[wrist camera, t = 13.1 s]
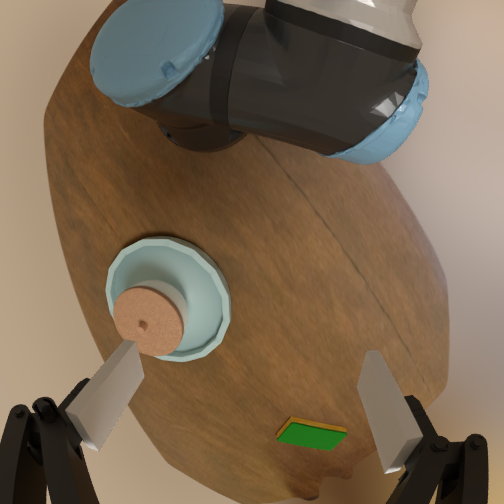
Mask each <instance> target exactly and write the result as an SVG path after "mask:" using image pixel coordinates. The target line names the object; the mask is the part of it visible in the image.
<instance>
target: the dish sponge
mask: <svg viewBox="0 0 504 504" xmlns="http://www.w3.org/2000/svg"><path fill="white" fill-rule="evenodd" d="M346 435H347V431H346V428H345V427H340V426H334V425H329V424H324V423H319V422H314V421H310V420H305V419H301V418H297V417H290V418H289V420H288V421H287V422H286V423H285V425H284V426H283V427H282V428H281V429H280V430H279V432H278V433H277V441H280V442H284V443H289V444H294V445H299V446H304V447H310V448H316V449H323V450H332V449H333V448H334V447H335V446H336V445H337V444H338V443H339V442H340V441H341V440H342V439H343V438H344V437H345V436H346Z"/></svg>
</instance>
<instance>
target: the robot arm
mask: <svg viewBox="0 0 504 504" xmlns="http://www.w3.org/2000/svg"><path fill="white" fill-rule="evenodd" d="M416 3H417V0H266V4H265V8H260V7H252V6H244V5H235V4H225V3H223V1H222V0H128V1H127V2H126V3H124V4H123V5H121V6H120V7H119V8H118V9H117V10H116V11H115V12H114V13H113V14H112V15H111V16H110V17H109V18H108V20H107V21H106V22H105V24H104V25H103V27H102V28H101V30H100V31H99V33H98V35H97V37H96V39H95V42H94V45H93V48H92V51H91V56H90V72H91V74H92V78H93V81H94V84H95V85H96V87H97V88H98V89H99V90H100V91H101V92H102V93H103V94H105V95H106V96H108V97H109V98H111V99H112V101H114V102H115V103H116V104H118V105H121V106H123V107H129V108H131V109H134V110H136V111H138V112H140V113H142V114H144V115H146V116H148V117H150V118H153V119H155V120H157V123H158V125H159V127H160V129H161V131H162V132H163V133H164V135H165V136H166V137H167V138H168V139H169V140H170V141H172V142H173V143H175V144H176V145H178V146H180V147H182V148H185V149H188V150H191V151H195V152H215V151H220V150H223V149H226V148H228V147H230V146H232V145H234V144H236V143H237V142H239V141H240V140H241V139H243V138H244V137H245V136H246V135H247V134H248V133H251V134H255V135H259V136H263V137H267V138H271V139H275V140H278V141H282V142H285V143H289V144H292V145H296V146H299V147H303V148H306V149H309V150H312V151H315V152H317V153H318V154H320V155H321V156H324V157H330V158H339V159H342V160H345V161H349V162H352V163H355V164H361V165H368V164H374V163H377V162H379V161H381V160H384V159H385V158H387V157H388V156H390V155H391V154H392V153H393V152H395V151H396V150H397V149H398V148H399V147H400V146H401V145H402V144H403V143H404V141H405V140H406V139H407V138H408V136H409V135H410V133H411V132H412V131H413V129H414V127H415V126H416V124H417V122H418V120H419V118H420V116H421V114H422V111H423V107H422V106H421V103H422V102H423V101H424V100H425V99H426V98H427V95H428V87H429V81H428V74H427V71H426V69H425V67H424V66H423V65H422V63H421V62H420V60H419V59H418V58H417V55H418V54H419V51H420V50H421V47H422V42H421V39H420V37H419V35H418V33H417V30H416V28H415V26H414V24H413V21H412V16H411V15H412V13H413V10H414V8H415V5H416ZM144 377H145V376H144V373H143V369H142V365H141V361H140V357H139V353H138V348H137V344H136V341H132V340H126V339H125V340H124V341H123V342H122V343H121V345H120V346H119V347H118V348H117V349H116V350H115V351H114V353H113V354H112V355H111V356H110V357H109V358H108V359H107V361H106V362H105V363H104V364H103V365H102V366H101V368H100V369H99V370H98V371H97V372H96V374H95V375H94V376H93V377H92V378H91V379H89V378H85V379H84V380H82V381H80V382H79V383H78V384H77V385H76V386H75V388H74V389H73V390H72V391H71V392H70V394H69V395H68V396H67V397H66V398H65V399H64V401H63V402H62V403H61V404H60V405H59V406H58V408H57V406H56V404H55V402H54V401H53V400H52V399H51V398H49V397H42V398H38V399H37V400H36V401H35V402H34V403H33V406H32V408H33V410H34V411H35V413H31V412H30V410H29V409H28V407H27V406H26V405H23V404H19V405H16V406H14V407H13V408H12V409H11V411H10V413H9V416H8V419H7V422H6V425H5V429H4V432H3V435H2V439H1V443H0V504H46V491H47V486H48V491H49V495H50V500H51V504H99V501H98V498H97V496H96V493H95V490H94V487H93V484H92V481H91V478H90V475H89V472H88V469H87V466H86V462H85V458H84V455H83V451H82V448H81V446H80V443H81V441H82V440H83V442H84V443H85V444H86V446H87V447H89V448H91V449H93V450H96V451H98V452H99V451H100V449H101V448H102V446H103V444H104V443H105V441H106V439H107V437H108V436H109V434H110V432H111V431H112V429H113V427H114V426H115V424H116V422H117V421H118V419H119V417H120V416H121V414H122V412H123V411H124V409H125V408H126V406H127V404H128V403H129V401H130V399H131V398H132V396H133V395H134V393H135V391H136V390H137V388H138V386H139V385H140V383H141V382H142V380H143V378H144ZM357 390H358V392H359V395H360V398H361V401H362V404H363V407H364V410H365V413H366V416H367V419H368V422H369V425H370V428H371V431H372V434H373V437H374V440H375V444H376V447H377V450H378V453H379V456H380V460H381V463H382V467H383V470H384V474H386V473H391V472H395V471H399V470H400V469H401V467H402V466H403V465H405V468H406V471H405V472H404V473H403V475H402V476H401V477H400V478H399V479H398V480H399V483H398V484H397V486H396V488H395V490H394V491H393V493H392V494H391V496H390V498H389V499H388V501H387V502H386V504H429V503H430V501H431V499H432V496H433V494H434V492H435V490H436V487H437V485H438V490H437V496H436V501H435V504H487V503H488V448H487V441H486V439H485V438H484V437H483V436H481V435H480V434H471V435H470V436H468V437H467V439H466V440H465V441H464V442H449V441H448V439H447V438H445V437H443V436H438V435H437V433H436V431H435V429H434V427H433V425H432V423H431V422H430V420H429V418H428V416H427V415H426V412H425V410H424V409H423V407H422V405H421V403H420V401H419V400H418V399H416V398H415V397H414V396H413V395H410V396H405V397H404V396H403V394H402V392H401V390H400V389H399V387H398V385H397V383H396V381H395V379H394V377H393V375H392V373H391V372H390V370H389V368H388V366H387V364H386V363H385V361H384V359H383V357H382V355H381V354H380V352H379V350H374V351H366V355H365V359H364V362H363V366H362V370H361V374H360V377H359V381H358V384H357Z"/></svg>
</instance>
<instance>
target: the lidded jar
mask: <svg viewBox="0 0 504 504" xmlns="http://www.w3.org/2000/svg"><path fill="white" fill-rule="evenodd" d="M113 317H114V322H115V325H116V328H117V330H118V332H119V334H120V335H121V337H122V338H123V339H124V340H125V339H126V340H132V341H136V344H137V348H138V351H139V352H141V353H143V354H146V355H150V356H164V355H167V354H170V353H172V352H173V351H174V350H175V349H176V348H177V347H178V346H179V344H180V342H181V340H182V338H183V335H184V333H185V331H186V327H187V324H188V308H187V304H186V301H185V299H184V297H183V296H182V294H181V293H180V292H179V291H178V290H177V289H176V288H175V287H174V286H172V285H171V284H169V283H167V282H165V281H161V280H154V279H152V280H145V281H141V282H139V283H137V284H135V285H133V286H131V287H130V288H128V289H126V290H125V291H124V292H122V293H121V294H120V295H119V296H118V297H117V299H116V301H115V304H114V308H113Z"/></svg>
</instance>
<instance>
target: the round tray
mask: <svg viewBox="0 0 504 504" xmlns="http://www.w3.org/2000/svg"><path fill="white" fill-rule="evenodd" d="M152 279H154V280H161V281H165V282H167V283H169V284H171V285H172V286H174V287H175V288H176V289H177V290H178V291H179V292H180V293H181V294H182V296H183V297H184V299H185V301H186V304H187V308H188V324H187V327H186V331H185V333H184V335H183V338H182V340H181V342H180V344H179V346H178V347H177V348H176V349H175V350H174V351H173V352H172V353H170V354H167V355H164V356H155V357H157V358H159V359H161V360H169V361H178V362H186V361H190V360H194V359H197V358H201V357H204V356H206V355H207V354H208V353H209V352H211V351H212V350H213V349H214V348H215V347H217V346H218V345H219V344H220V343H221V342H222V339H223V337H224V335H225V332H226V330H227V327H228V325H229V323H230V320H231V303H232V302H231V294H230V290H229V286H228V284H227V281H226V279H225V277H224V275H223V273H222V271H221V270H220V268H219V267H218V266H217V264H216V263H215V262H214V261H213V260H212V258H211V257H210V256H209V255H208V254H206V253H205V252H204V251H203V250H201V249H200V248H198V247H197V246H195V245H194V244H192V243H190V242H187V241H185V240H182V239H179V238H175V237H170V236H155V237H146V238H144V239H142V240H140V241H138V242H136V243H134V244H132V245H130V246H129V247H127V248H125V249H123V250H121V252H120V253H119V255H118V256H117V258H116V259H115V260H114V262H113V263H112V265H111V266H110V268H109V272H108V278H107V284H106V295H107V300H108V305H109V310H110V313H111V315H112V317H113V308H114V304H115V301H116V299H117V297H118V296H119V295H120V294H121V293H122V292H124V291H125V290H126V289H128V288H130V287H131V286H133V285H135V284H137V283H139V282H141V281H145V280H152ZM113 319H114V317H113Z"/></svg>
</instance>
